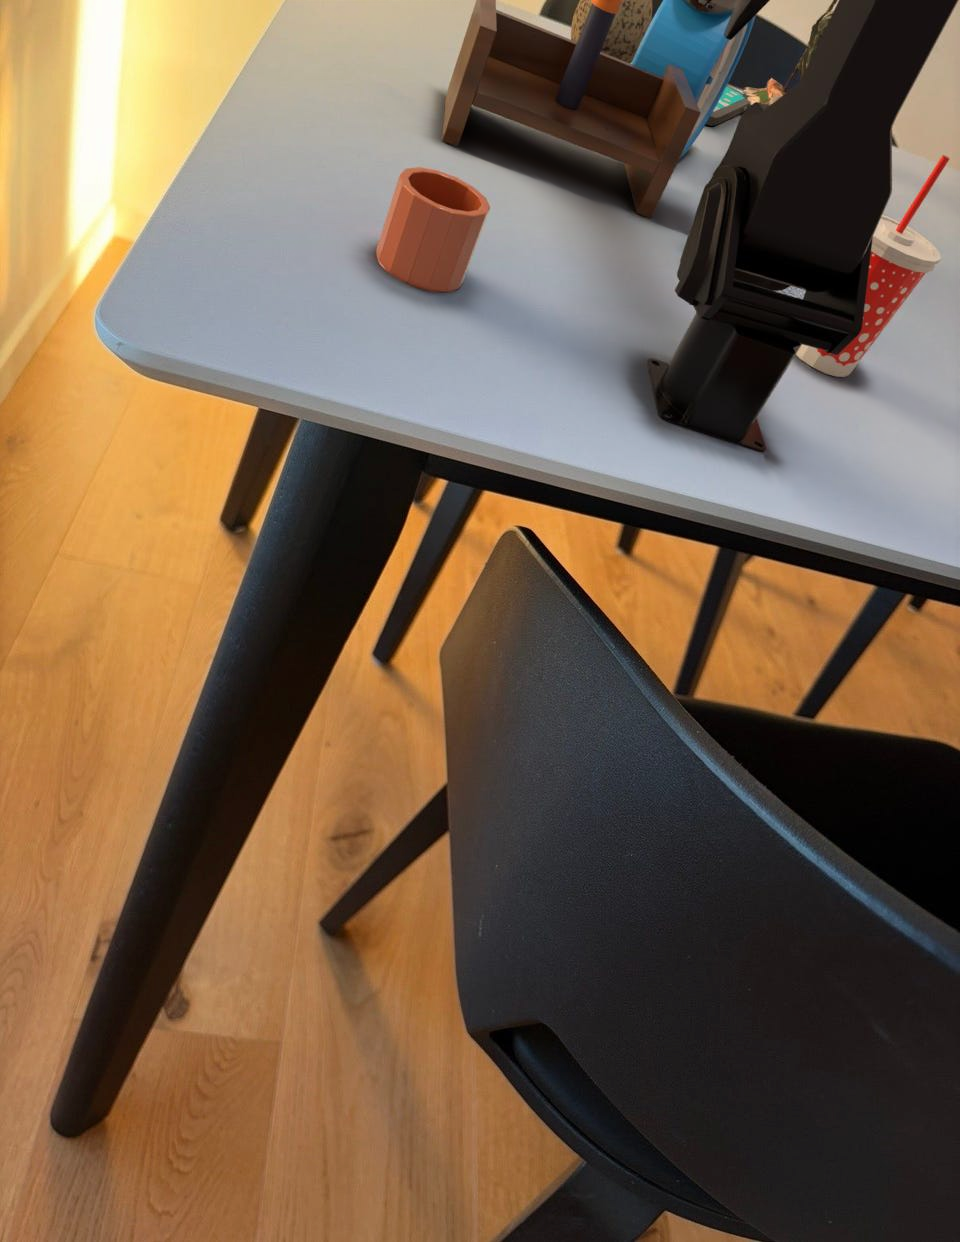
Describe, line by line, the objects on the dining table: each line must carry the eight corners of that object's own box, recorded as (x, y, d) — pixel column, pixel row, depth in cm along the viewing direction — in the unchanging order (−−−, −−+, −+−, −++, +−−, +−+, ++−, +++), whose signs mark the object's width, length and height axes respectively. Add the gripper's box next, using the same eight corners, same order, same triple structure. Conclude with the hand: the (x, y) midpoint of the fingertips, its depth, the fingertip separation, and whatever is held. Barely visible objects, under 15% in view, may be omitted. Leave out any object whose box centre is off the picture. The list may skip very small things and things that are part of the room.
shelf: (651, 218, 82) (701, 112, 77) (441, 141, 79) (480, 24, 74) (637, 168, 90) (682, 69, 85) (445, 95, 86) (480, -14, 81)
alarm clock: (659, 177, 90) (751, -18, 81) (593, 142, 91) (676, -56, 81) (697, 148, 100) (783, -29, 91) (638, 116, 101) (716, -63, 91)
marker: (579, 113, 81) (636, -27, 75) (554, 103, 81) (608, -38, 75) (578, 104, 83) (633, -34, 76) (553, 94, 82) (606, -45, 76)
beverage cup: (774, 320, 76) (891, 121, 67) (852, 352, 77) (978, 159, 68) (784, 362, 72) (911, 153, 63) (867, 395, 73) (1004, 194, 64)
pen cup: (459, 309, 61) (490, 226, 58) (369, 279, 60) (396, 192, 57) (460, 269, 65) (490, 189, 61) (376, 240, 63) (402, 157, 60)
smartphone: (641, 76, 107) (688, 61, 118) (636, 86, 108) (683, 70, 119) (717, 118, 106) (757, 99, 117) (712, 128, 106) (752, 109, 118)
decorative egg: (549, 47, 107) (590, -66, 101) (613, 67, 110) (657, -40, 104) (569, 75, 102) (614, -40, 96) (636, 96, 105) (684, -15, 99)
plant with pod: (824, 153, 115) (947, -50, 103) (730, 100, 116) (841, -109, 103) (831, 138, 122) (947, -56, 109) (741, 88, 122) (847, -111, 109)
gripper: (881, -214, 73) (763, 32, 83) (623, -340, 69) (531, -66, 78) (935, -195, 65) (797, 76, 74) (646, -337, 60) (539, -30, 70)
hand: (666, 12), depth 75 cm, fingers open, 9 cm apart
